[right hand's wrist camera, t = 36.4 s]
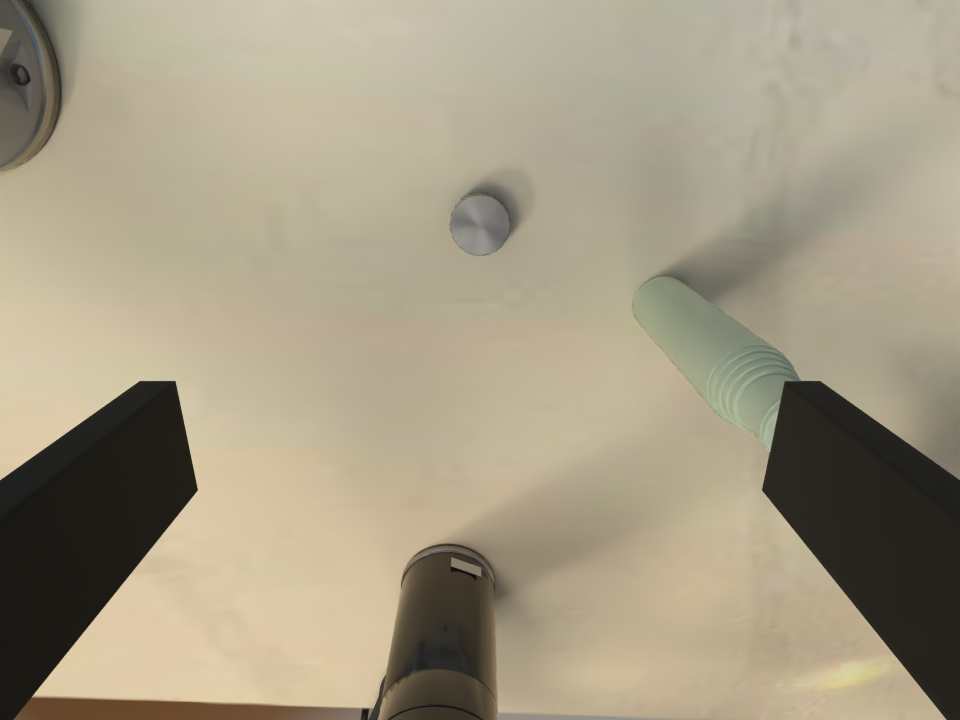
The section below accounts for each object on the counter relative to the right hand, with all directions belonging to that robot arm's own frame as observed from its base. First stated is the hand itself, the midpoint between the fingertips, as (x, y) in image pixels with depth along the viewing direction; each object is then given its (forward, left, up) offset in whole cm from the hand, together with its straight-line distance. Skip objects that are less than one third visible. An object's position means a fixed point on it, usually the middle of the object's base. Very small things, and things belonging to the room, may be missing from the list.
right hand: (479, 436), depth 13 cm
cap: (0, 0, -34) cm, 34 cm away
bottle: (+8, -14, -35) cm, 39 cm away
